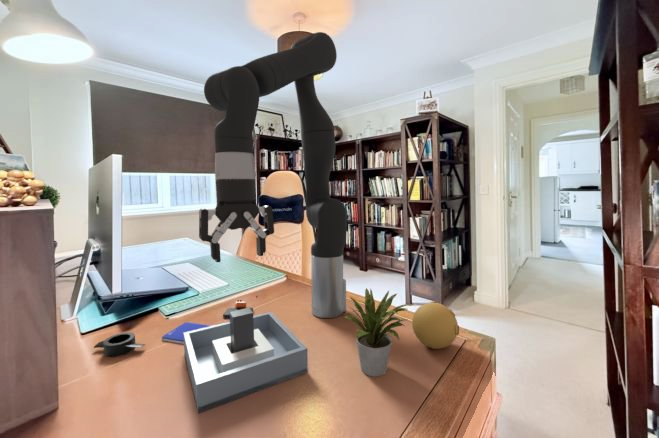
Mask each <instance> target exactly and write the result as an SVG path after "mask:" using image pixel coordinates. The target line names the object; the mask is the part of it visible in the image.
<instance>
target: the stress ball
mask: <svg viewBox="0 0 659 438" xmlns="http://www.w3.org/2000/svg"><path fill="white" fill-rule="evenodd" d="M411 320H412V321H411V324H412V325H411V327H412V330H413V333H414V334H415V337H416V338H417V339H418V341H420V343H422V344H423V345H424V346H426V347H428V348H430V349H432V350H439V349H444V348H448V347H449V346H450V345H452V344H453V342H455V340H456V338H457V336H459V335H460V334H459V333H460V325H458V321H457V317H456V314H455V313H454V311H453V310H452V309H451V308H448V307H447V306H445V304H443V303H440V302H427V303H424V304H422V305H420V306H419V307H418V308H417V309H416V310H415V312H414V313H413V316H412V319H411Z"/></svg>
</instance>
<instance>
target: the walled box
mask: <svg viewBox="0 0 659 438" xmlns="http://www.w3.org/2000/svg"><path fill="white" fill-rule="evenodd" d="M253 323H254V347H253V348H250V349H246V350H243V351H239V352H236V353H233V354H232V352H231V336H230V321H226V322H222V323H219V324H214V325H210V326H209V327H205V328H201V329H197V330H192V331H188V332H184V333H183V335H184V344H183V346H184V347H183V348H184V349H183V350H184V357H185V362H186V365H187V371H188V375H189V378H190V379H189V380H190V384H191V389H192V392H193V397H194V401H195V406H196V411H197V414H201V413H203V412H206V411H208V410H211V409H214V408H216V407H219V406H221V405H225V404H227V403H230V402H233V401H235V400H239V399H241V398H243V397H246V396H249V395H251V394H254V393H256V392H260V391H261V390H265V389H266V388H270V387H272V386H275V385H278V384H281V383H283V382H286V381H288V380H291V379H293V378H296V377H298V376H301V375H304V374H307V373H308V372H309V371H308V370H309V367H308V347H307V346H306V345H305V344H304V343H303V342H302V341H300V339H299V338H298V337H296V335H295V334H294V333H293V332H292V331H290V329H289V328H288V327H286V325H285V324H284V323H283V322H282V321H281V320H280V319H279V318H278V317H277V316H275V314H274V313H273V312H272V311H268V312H264V313H260V314H256V315H253Z"/></svg>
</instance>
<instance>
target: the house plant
mask: <svg viewBox="0 0 659 438" xmlns="http://www.w3.org/2000/svg"><path fill="white" fill-rule="evenodd" d="M389 293H390V290H388V291H387V292H386V293H385V294H384V296H383V298H382V299H381V301H380V302H379V304H378V306H377V307H376V301H375V299H374V295H373V291H372V288H370V291H369V290H368V288H366V287H365V292H364V301H359V300H356V299H355V298H354V297H352V296H349V297H350V299H351V300H352V301H353V303H352V304H353V306H354V307H355V308H356V309H354V308H352V307H351V306H349V308H350V310H352V311H351V312H350V313H351V314H352V313H354V314H356V315H357V317H358V318H360V320H361V321H360V320H359V319H358V318H357V317H355V316H353V315H349V314H348V315H346V316H344V319H347V320H349V321H351V322H353V323H355V324H356V325H358V326H359V328H360V329H356V337H355V341H356V347H357V352H358V353H357V354H358V358H359V364H360V370H361V372H362V373H363V374H365V375H367V376H369V377H381V376H384V375H385V374H386V372H387V370H388V369H387V368H388V366H389V365H388V364H389V359H390V353H391V349H392V344H393V340H392V337H391V336H389V334H390V335H392V336H394V337H396V338H397V339H398V340H400V338H399V337H400V336H399V334H398V332H397V331H396V330H394V329H393V328H398V327H402V326H404V327H406V326H405V324H403V323H404V321H407V319H406V318H405V319H400V318H399V317H395V316H394V315H395V314H398V315H399V313H398V312H402V311H403V312H404V311H407V308H404V307H407V306H411V305H414V303H406V304H401V305H399V306H398V305H397V306H396V307H394V308H392V309H391V310H389V308H390V307H391V306H392V303H393V301H394V298H395V297H396V296H397V294H398V293H394V294H392V295H391V296H389ZM388 296H389V298H388ZM359 302H360V303H363V304H364V309H363V308H362V307H363V306H361V304H360V303H359ZM364 311H365V312H364ZM359 313H360V315H359ZM386 318H387V319H386ZM392 321H395V322H392ZM390 322H391V323H390ZM388 323H389V324H388ZM387 324H388V325H387Z"/></svg>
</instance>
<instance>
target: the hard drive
mask: <svg viewBox="0 0 659 438" xmlns="http://www.w3.org/2000/svg"><path fill="white" fill-rule="evenodd" d="M209 326H211V325H208V324H202V323H196V322H190V321H189V322H187V321H185V322H183V323H181V324H180V325H177V326H176V327H175V328H174V329H172V330H170V331H168V332H167V333H165V334H164V335H162V337H161V341H163V342H171V343H177V344H183V345H184V335H183V333H184V332H188V331H192V330H197V329H201V328H205V327H209Z"/></svg>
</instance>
